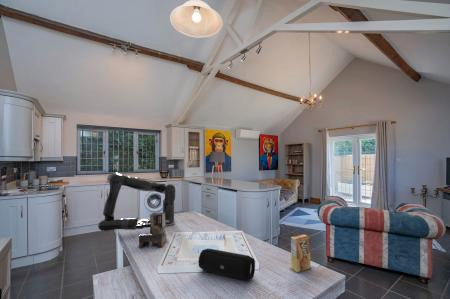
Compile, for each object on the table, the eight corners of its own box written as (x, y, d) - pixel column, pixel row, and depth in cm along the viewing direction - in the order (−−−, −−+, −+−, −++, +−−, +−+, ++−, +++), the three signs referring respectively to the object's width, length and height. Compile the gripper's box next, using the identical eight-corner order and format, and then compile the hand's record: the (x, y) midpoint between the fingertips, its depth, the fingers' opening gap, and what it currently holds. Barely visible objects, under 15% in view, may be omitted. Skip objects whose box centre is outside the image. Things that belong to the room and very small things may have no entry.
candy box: (304, 264, 109) (303, 233, 109) (311, 268, 105) (310, 236, 106) (291, 268, 105) (290, 236, 105) (297, 272, 101) (296, 239, 102)
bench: (145, 241, 142) (145, 229, 142) (166, 241, 142) (166, 229, 142) (138, 247, 132) (139, 235, 132) (161, 247, 132) (161, 234, 132)
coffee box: (165, 235, 153) (165, 212, 153) (162, 238, 146) (162, 214, 147) (153, 234, 154) (153, 212, 154) (149, 238, 147) (149, 214, 148)
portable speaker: (197, 274, 101) (197, 252, 102) (207, 264, 110) (207, 244, 111) (249, 286, 91) (249, 262, 91) (255, 274, 100) (255, 252, 100)
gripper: (124, 221, 143) (149, 221, 143) (133, 215, 158) (156, 215, 158) (124, 233, 143) (149, 232, 143) (133, 226, 157) (156, 225, 157)
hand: (152, 223), depth 150 cm, fingers open, 8 cm apart
